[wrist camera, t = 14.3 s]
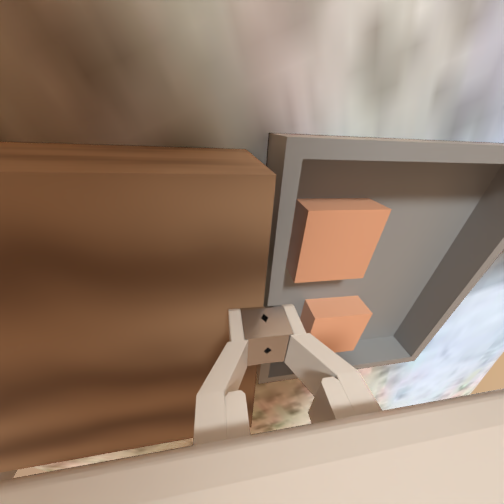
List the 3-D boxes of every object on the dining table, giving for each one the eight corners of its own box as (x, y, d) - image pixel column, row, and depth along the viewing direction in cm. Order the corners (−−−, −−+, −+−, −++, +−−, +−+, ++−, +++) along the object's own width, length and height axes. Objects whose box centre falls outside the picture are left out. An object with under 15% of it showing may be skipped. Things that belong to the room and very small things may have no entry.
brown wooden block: (-134, 137, 11) (-698, 164, 4) (246, 149, 14) (276, 175, 7) (57, 369, 22) (-9, 474, 16) (241, 347, 26) (251, 427, 19)
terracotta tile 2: (391, 209, 14) (368, 197, 16) (308, 210, 13) (295, 198, 15) (362, 278, 17) (346, 261, 19) (294, 283, 16) (285, 264, 18)
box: (269, 133, 14) (287, 136, 10) (509, 143, 17) (584, 149, 13) (252, 350, 26) (258, 383, 23) (391, 333, 29) (414, 360, 26)
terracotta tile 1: (372, 313, 20) (357, 295, 22) (315, 318, 19) (305, 299, 21) (353, 350, 23) (341, 331, 25) (302, 356, 22) (295, 336, 24)
